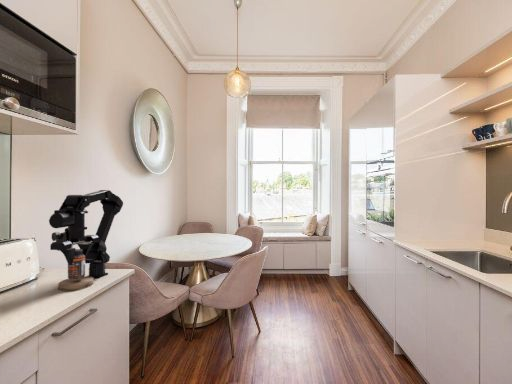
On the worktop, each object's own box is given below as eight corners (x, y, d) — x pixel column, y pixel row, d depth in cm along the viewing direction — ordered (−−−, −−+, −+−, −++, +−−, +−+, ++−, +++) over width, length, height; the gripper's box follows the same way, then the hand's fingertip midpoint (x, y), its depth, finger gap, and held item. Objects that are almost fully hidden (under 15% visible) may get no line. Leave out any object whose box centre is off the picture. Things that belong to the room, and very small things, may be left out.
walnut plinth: (75, 280, 116) (75, 275, 116) (100, 281, 114) (100, 276, 114) (50, 290, 104) (50, 285, 104) (77, 291, 102) (77, 286, 102)
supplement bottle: (65, 280, 105) (64, 252, 105) (71, 275, 111) (71, 249, 111) (82, 279, 107) (82, 251, 107) (87, 274, 113) (87, 248, 113)
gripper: (77, 222, 120) (77, 256, 120) (37, 227, 101) (37, 268, 101) (99, 222, 118) (99, 257, 118) (63, 228, 99) (63, 269, 99)
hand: (76, 262), depth 109 cm, fingers closed on supplement bottle, 6 cm apart
